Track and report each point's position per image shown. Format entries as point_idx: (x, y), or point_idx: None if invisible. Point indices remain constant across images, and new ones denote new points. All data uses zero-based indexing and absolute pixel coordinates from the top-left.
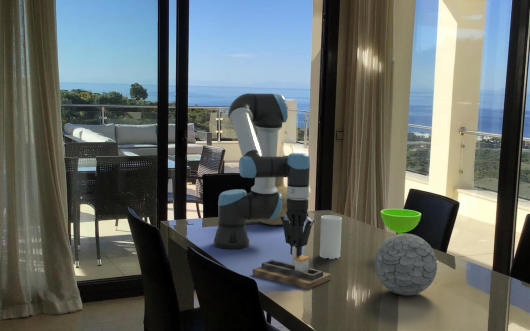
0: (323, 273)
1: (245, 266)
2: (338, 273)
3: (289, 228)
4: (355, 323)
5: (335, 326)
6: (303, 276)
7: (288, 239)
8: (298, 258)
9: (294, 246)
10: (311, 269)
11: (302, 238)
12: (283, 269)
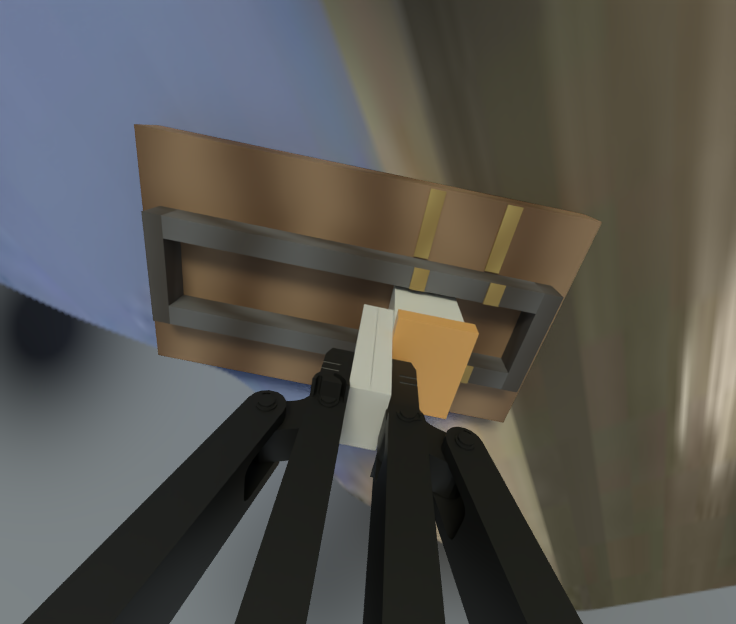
0: (546, 236)
1: (37, 229)
2: (629, 28)
3: (169, 567)
4: (700, 579)
5: (636, 602)
6: None
7: (265, 476)
8: None
9: (351, 431)
10: (477, 294)
11: (459, 564)
12: (316, 349)
